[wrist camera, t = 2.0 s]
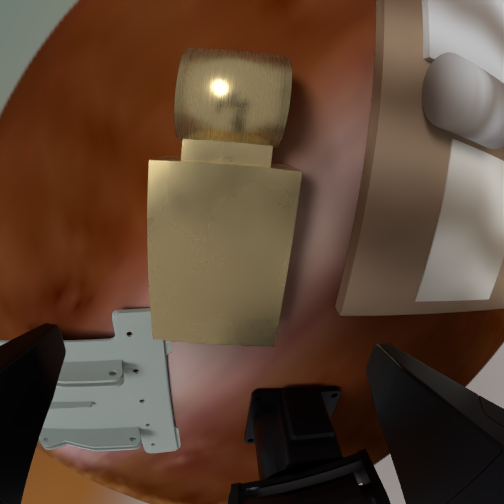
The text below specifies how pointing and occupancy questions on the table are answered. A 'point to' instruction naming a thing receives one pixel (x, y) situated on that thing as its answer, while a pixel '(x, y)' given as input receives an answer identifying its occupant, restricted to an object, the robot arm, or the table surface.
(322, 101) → the table surface
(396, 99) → the hinge base
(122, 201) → the table surface
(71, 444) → the metal bracket
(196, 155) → the perfume bottle
